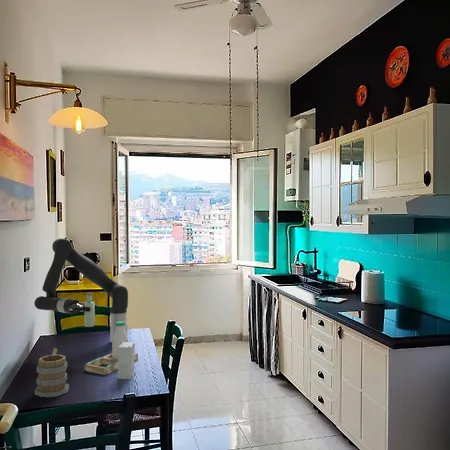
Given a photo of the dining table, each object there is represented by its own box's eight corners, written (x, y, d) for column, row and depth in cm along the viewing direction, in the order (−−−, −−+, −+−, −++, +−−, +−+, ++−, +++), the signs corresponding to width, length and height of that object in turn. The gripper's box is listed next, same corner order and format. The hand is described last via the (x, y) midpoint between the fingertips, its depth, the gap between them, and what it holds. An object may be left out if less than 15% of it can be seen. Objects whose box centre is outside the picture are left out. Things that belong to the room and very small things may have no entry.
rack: (117, 356, 235) (117, 350, 235) (137, 359, 230) (137, 353, 230) (84, 371, 212) (84, 364, 212) (105, 374, 207) (105, 367, 207)
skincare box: (122, 373, 210) (122, 341, 210) (134, 373, 210) (135, 341, 209) (117, 379, 201) (117, 346, 201) (131, 379, 201) (131, 346, 201)
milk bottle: (114, 364, 222) (114, 324, 221) (110, 360, 229) (110, 321, 228) (129, 362, 225) (129, 322, 225) (125, 358, 232) (125, 319, 232)
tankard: (66, 396, 182) (66, 359, 182) (32, 398, 179) (32, 361, 179) (72, 379, 202) (72, 345, 201) (42, 381, 199) (42, 347, 199)
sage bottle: (89, 324, 233) (88, 291, 232) (96, 325, 231) (96, 292, 230) (82, 326, 228) (82, 293, 228) (90, 327, 226) (89, 294, 226)
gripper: (57, 301, 229) (83, 303, 222) (77, 296, 242) (103, 298, 235) (57, 315, 229) (84, 318, 222) (77, 310, 242) (103, 312, 235)
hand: (93, 308), depth 228 cm, fingers closed on sage bottle, 5 cm apart
